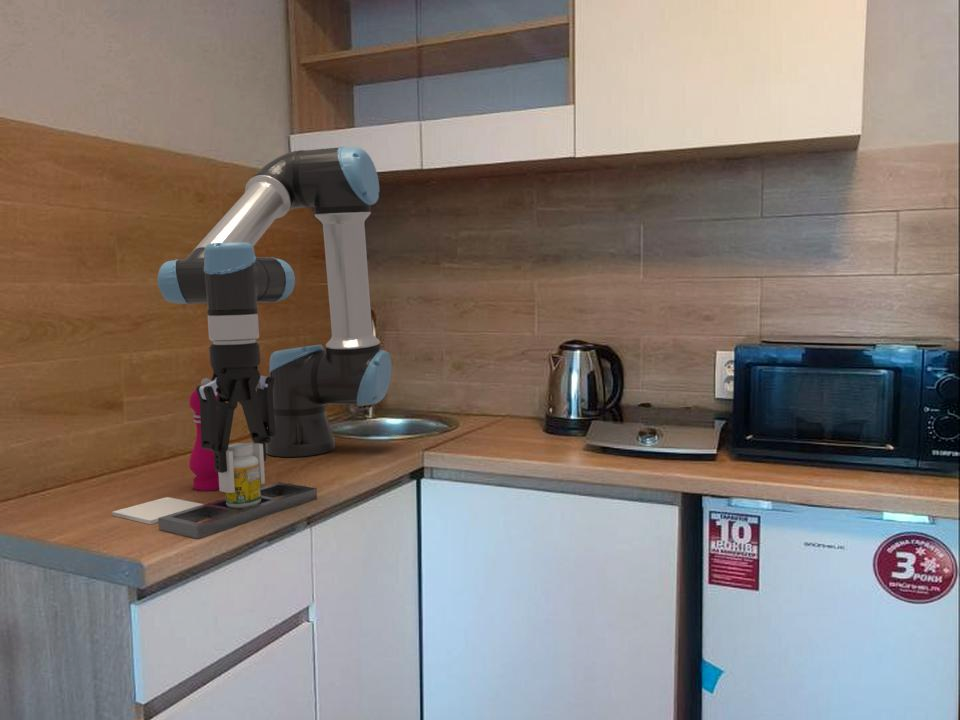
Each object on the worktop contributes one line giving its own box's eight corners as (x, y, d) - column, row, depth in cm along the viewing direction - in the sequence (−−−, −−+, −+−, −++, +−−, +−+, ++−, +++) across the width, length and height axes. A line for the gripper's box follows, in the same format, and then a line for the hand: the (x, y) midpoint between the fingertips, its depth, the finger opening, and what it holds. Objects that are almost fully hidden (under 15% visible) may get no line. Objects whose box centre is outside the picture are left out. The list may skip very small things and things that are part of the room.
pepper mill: (218, 479, 145) (212, 375, 143) (240, 485, 140) (234, 377, 139) (183, 487, 139) (176, 378, 138) (204, 493, 135) (198, 381, 133)
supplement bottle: (268, 501, 123) (265, 443, 122) (243, 510, 119) (239, 449, 118) (243, 498, 126) (240, 440, 125) (218, 506, 121) (215, 447, 120)
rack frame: (279, 492, 135) (279, 482, 135) (317, 498, 130) (316, 488, 130) (158, 529, 115) (158, 517, 114) (197, 538, 110) (197, 526, 110)
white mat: (167, 500, 131) (167, 496, 131) (205, 508, 126) (205, 504, 126) (112, 515, 123) (112, 511, 123) (150, 524, 117) (150, 520, 117)
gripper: (263, 337, 129) (270, 471, 132) (167, 346, 114) (177, 498, 116) (294, 338, 125) (301, 476, 128) (200, 347, 110) (210, 504, 112)
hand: (242, 486), depth 122 cm, fingers closed on supplement bottle, 5 cm apart
